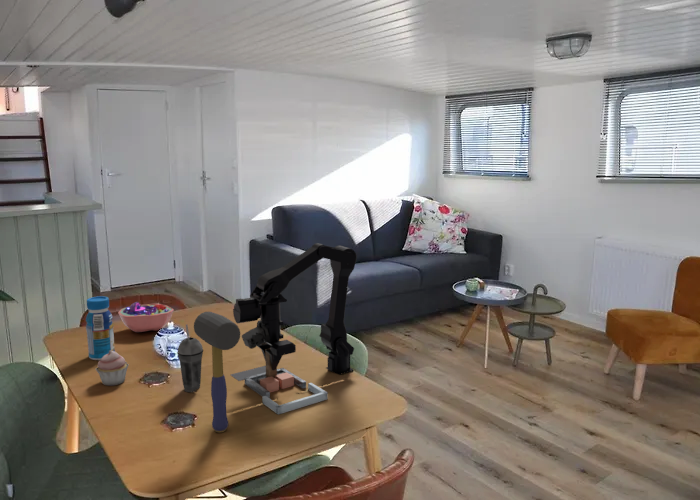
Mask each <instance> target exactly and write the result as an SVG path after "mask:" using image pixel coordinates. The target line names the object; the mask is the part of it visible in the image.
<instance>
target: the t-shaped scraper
mask: <svg viewBox="0 0 700 500" xmlns="http://www.w3.org/2000/svg"><path fill="white" fill-rule="evenodd" d="M268 349H271V348H268ZM268 349H265V350H268ZM265 357H266V362H265V366H266V377H264V378H268V377H271V376H272V377H274V378H275V375H279V374H282V373H279V374H277V369H278V367H277V368H276V370H272V368H271V361H270V355H269V354H268V353H267V352H266V351H265ZM283 373H284V372H283ZM264 378H260V379H264ZM260 379H257V383H258V384H259V385H260Z"/></svg>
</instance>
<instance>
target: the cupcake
mask: <svg viewBox="0 0 700 500" xmlns="http://www.w3.org/2000/svg"><path fill="white" fill-rule="evenodd" d="M129 365H130V364H129V363H128V362H127V361H126V360H125V358H124V357H123V356H122V355H120V354H119V353H118V352H117V351H116V350H115V351H111V350H110V351H109V354H106V355H104V356H103V357H102V359H101V360H98V363H97V367H96V368H95V371H96V372H97V374H98V375H99V378H100V380H101V382H102V383H101V384H103V385H104V386H109V387H110V386H116V385H117V386H118V385H121V384H123V383H124V382H125V380H126V375H127V370H128V368H129Z"/></svg>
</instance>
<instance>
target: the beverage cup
mask: <svg viewBox="0 0 700 500" xmlns="http://www.w3.org/2000/svg"><path fill="white" fill-rule="evenodd" d="M185 330H186V338H183V339H182V340H181V342H180V343H179V344H178V348H177V357H178V360H179V366H180V372H181V379H182V380H181V381H182V385H183V390H184V392H186V393H196V392H197V390H199V388H201V381H202V359H203V356H204V355H203V354H204V353H203V352H204V349H203V345H202V342H201V341H200V340H199V339H197V338H195V337H190V334H189V326H188V324H185Z"/></svg>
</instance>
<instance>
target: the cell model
mask: <svg viewBox="0 0 700 500" xmlns="http://www.w3.org/2000/svg"><path fill="white" fill-rule="evenodd" d="M173 313H174V308H172V307H170V306H168V305H166V304H160V303H149V304H141V303H140V302H139V301H135V302H133V303H132V304H130V305H129V306H127V307H123V308H121V309H120V310H118V313H117V314H118V315H119V317H120V319H121V321H122V323H123V325H124V326H125V327H127V328H128V329H129V330H131V331H133V332H135V333H142V332H149V331H154V332H155V331H160V330H162V329H163V328H164V327H165V326H167V324H168V323H169V322H170V320H171V319H172V316H173ZM161 328H162V329H161ZM159 329H160V330H159Z"/></svg>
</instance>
